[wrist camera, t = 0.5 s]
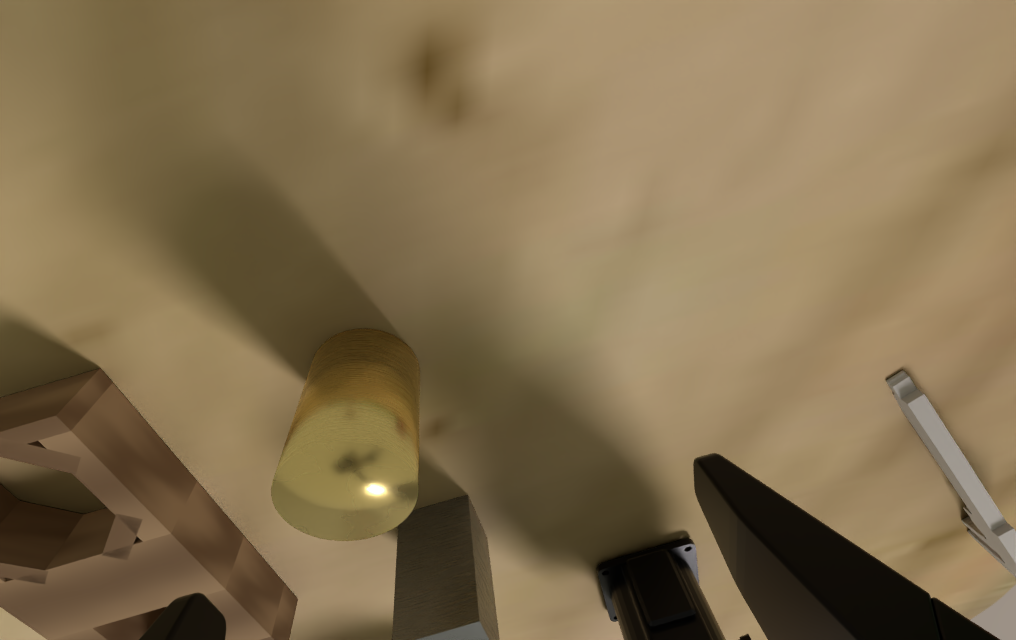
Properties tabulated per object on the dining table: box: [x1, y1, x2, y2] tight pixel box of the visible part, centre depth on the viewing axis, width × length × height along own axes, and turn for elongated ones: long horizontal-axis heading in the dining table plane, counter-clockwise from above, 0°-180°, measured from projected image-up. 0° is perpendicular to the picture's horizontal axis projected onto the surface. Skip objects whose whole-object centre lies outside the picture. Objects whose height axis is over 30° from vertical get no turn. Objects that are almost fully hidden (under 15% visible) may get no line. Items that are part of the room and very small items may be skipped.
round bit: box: [271, 329, 420, 541], centre depth 20 cm, size 5×5×7 cm
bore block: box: [0, 368, 298, 640], centre depth 25 cm, size 18×9×3 cm, turn 14°
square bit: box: [392, 495, 499, 640], centre depth 26 cm, size 4×4×7 cm
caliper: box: [886, 370, 1016, 577], centre depth 30 cm, size 20×1×6 cm, turn 41°
